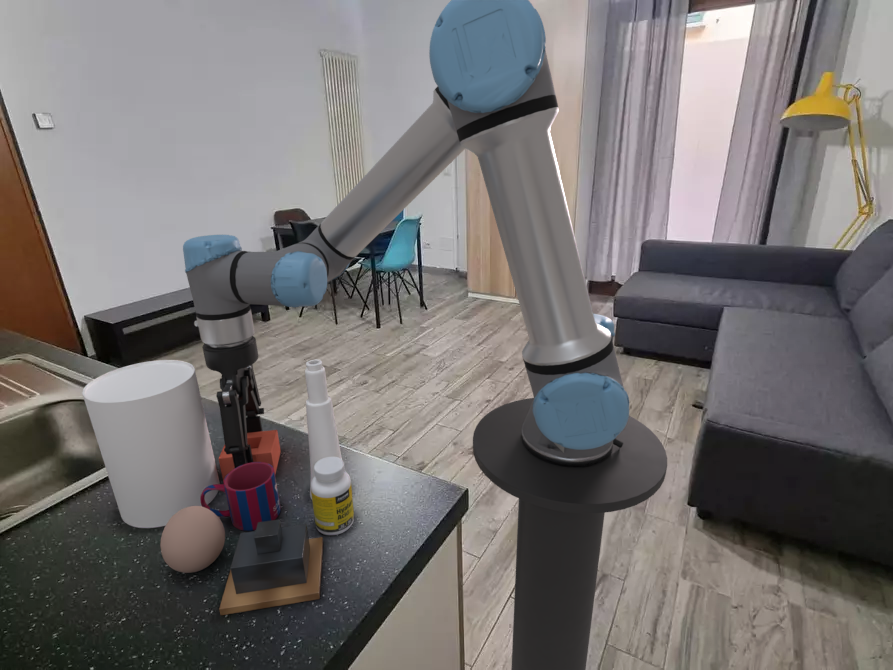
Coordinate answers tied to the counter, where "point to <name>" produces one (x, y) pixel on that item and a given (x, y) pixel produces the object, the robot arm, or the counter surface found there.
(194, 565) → the egg
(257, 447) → the coral block
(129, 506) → the canister
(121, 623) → the counter surface
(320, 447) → the cosmetic bottle
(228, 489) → the cup
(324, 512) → the supplement bottle
